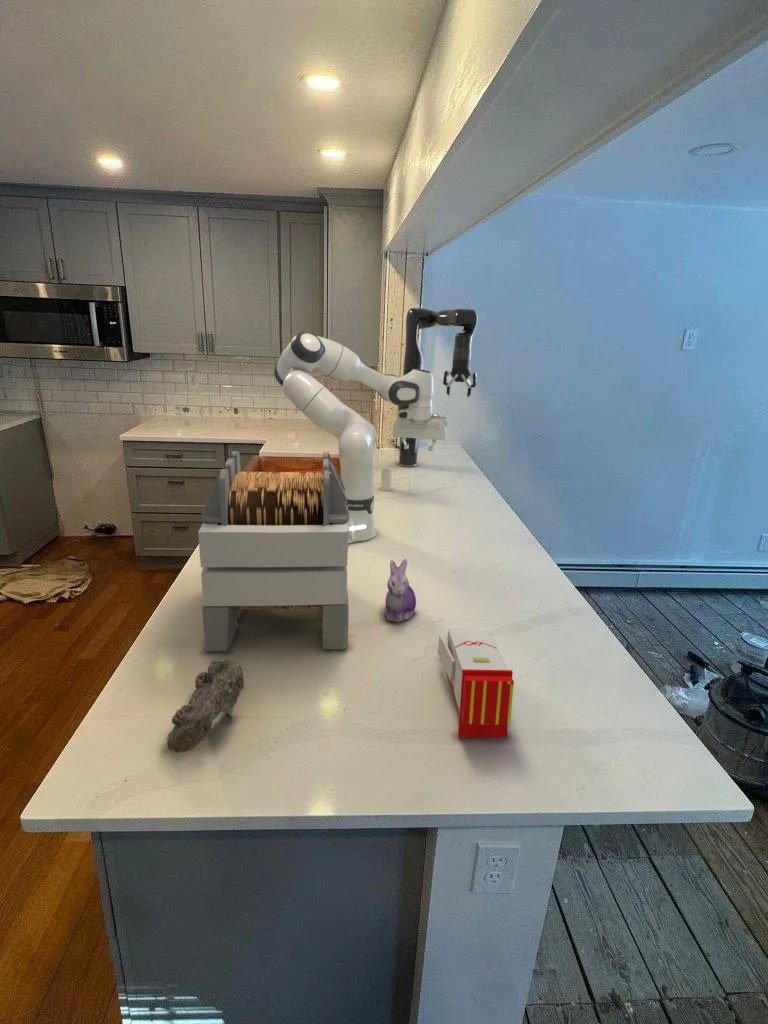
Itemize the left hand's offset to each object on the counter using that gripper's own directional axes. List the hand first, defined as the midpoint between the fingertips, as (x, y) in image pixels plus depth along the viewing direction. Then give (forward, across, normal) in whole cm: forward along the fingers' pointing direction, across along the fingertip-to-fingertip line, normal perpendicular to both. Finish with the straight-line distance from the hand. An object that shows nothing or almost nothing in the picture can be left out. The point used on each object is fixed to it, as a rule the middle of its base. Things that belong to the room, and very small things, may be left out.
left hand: (418, 449), depth 216 cm
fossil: (+24, +18, +130) cm, 133 cm away
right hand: (-15, -10, -44) cm, 48 cm away
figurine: (+24, -10, +82) cm, 86 cm away
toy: (+24, -30, +109) cm, 115 cm away
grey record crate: (+24, +20, +91) cm, 96 cm away
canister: (+24, +17, -23) cm, 37 cm away
